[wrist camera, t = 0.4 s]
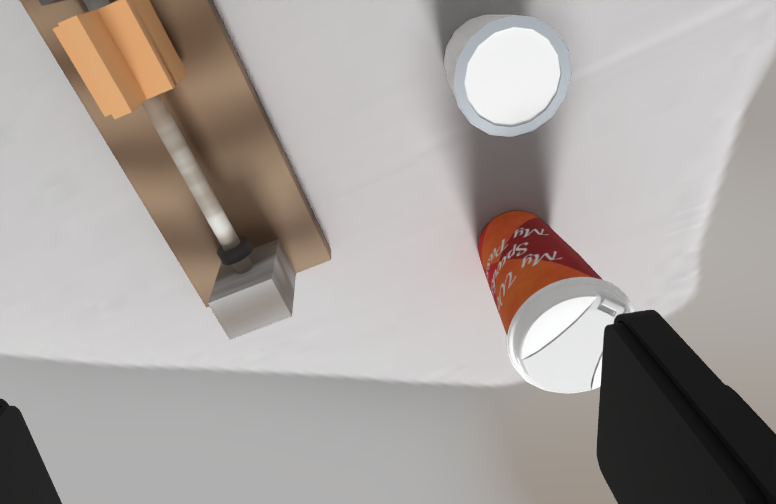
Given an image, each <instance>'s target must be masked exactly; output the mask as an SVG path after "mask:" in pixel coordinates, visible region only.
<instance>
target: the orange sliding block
mask: <svg viewBox="0 0 776 504" xmlns="http://www.w3.org/2000/svg"><path fill="white" fill-rule="evenodd" d="M58 25H59V26H58V27H55V28H53V31H54V32H55V34H56V36H57V38H58V39H59V41H60V43H61V44H62V46H63V48H64V49H65V51H66V53H67V54H68V56H69V58H70V59H71V61H72V63H73V64H74V66H75V68H76V69H77V71H78V73H79V74H80V76H81V78H82V79H83V81H84V83H85V84H86V86H87V88H88V89H89V91H90V93H91V94H92V96H93V98H94V99H95V101H96V103H97V105H98V106H99V108H100V110H101V111H102V113H103V115H104V116H105V117H106V116H108V115H111V114H112V116H113V118H114V119H117V118H119V117H122V116H124V115H126V114H129V113H131V112H133V111H134V110H135V109H136V108H137V107H139V106H140V105H141V104H142V103H143V102H144V101H146V100H147V99H149V98H152V97H154V96H156V95H159V94H161V93H164V92H166V91H168V90H171V89H173V88H174V87H175V86H176V85H177V84H178V83H180V82H181V81H182V80H183V79H184V78H185V77H186V76H187V75H188V74H187V72H186V70H185V68H184V66H183V64H182V62H181V60H180V58H179V57H178V55H177V53H176V51H175V49H174V47H173V45H172V43H171V41H170V39H169V37H168V35H167V33H166V31H165V30H164V28H163V26H162V24H161V22H160V20H159V18H158V16H157V14H156V12H155V10H154V8H153V6H152V4H151V2H150V1H149V0H118V1H116V2H113V3H111V4H109V5H106V6H104V7H102V8H99V9H97V10H94V11H90V12H86V13H83V14H79V15H76V16H73V17H71V18H69V19H67V20H64V21H62V22H60V23H58Z"/></svg>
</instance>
